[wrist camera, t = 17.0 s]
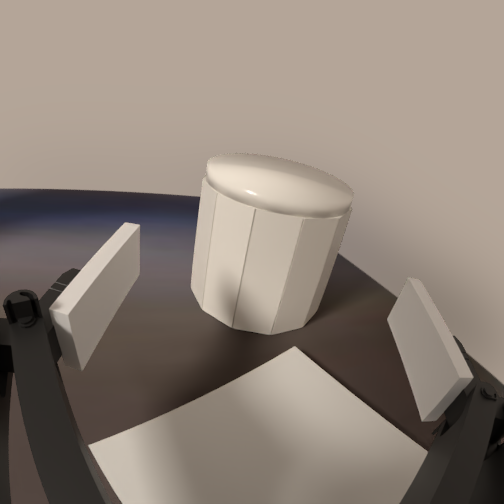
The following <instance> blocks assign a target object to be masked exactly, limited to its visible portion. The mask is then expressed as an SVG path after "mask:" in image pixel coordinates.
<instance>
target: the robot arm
mask: <svg viewBox="0 0 504 504" xmlns="http://www.w3.org/2000/svg"><path fill="white" fill-rule="evenodd" d="M139 274H140V225H137V224H132V223H127V222H125V223H124V224H123V225H122V226H121V227H120V228H119V229H118V230H117V231H116V233H115V234H114V235H113V236H112V237H111V238H110V239H109V240H108V241H107V242H106V243H105V244H104V245H103V246H102V248H101V249H100V250H99V251H98V252H97V253H96V254H95V255H94V256H93V257H92V259H91V260H90V261H89V262H88V263H87V264H86V265H85V266H84V268H83V269H82V270H78V269H74V268H72V269H71V270H69V271H67V272H65V273H63V274H62V275H61V276H60V277H59V279H58V280H57V281H56V283H54V284H53V285H52V286H51V289H49V290H48V291H47V292H46V293H45V294H44V295H43V297H42V298H41V299H40V300H38V297H37V295H36V294H35V293H34V292H33V291H30V290H18V291H15V292H13V293H11V294H10V295H8V296H7V297H6V299H5V300H4V303H3V307H4V310H5V313H6V316H7V319H6V318H0V504H11V496H10V483H9V460H8V435H9V411H10V397H11V386H12V377H13V373H15V379H16V385H17V391H18V396H19V401H20V406H21V411H22V416H23V420H24V424H25V429H26V433H27V436H28V440H29V444H30V448H31V451H32V455H33V458H34V461H35V464H36V468H37V471H38V474H39V477H40V480H41V482H42V485H43V488H44V491H45V493H46V496H47V499H48V501H49V504H112V502H111V500H110V498H109V497H108V495H107V493H106V491H105V489H104V487H103V485H102V482H101V480H100V478H99V476H98V474H97V472H96V470H95V467H94V465H93V463H92V461H91V458H90V456H89V454H88V451H87V449H86V447H85V444H84V442H83V439H82V437H81V434H80V431H79V429H78V426H77V423H76V421H75V418H74V415H73V412H72V409H71V406H70V403H69V400H68V397H67V394H66V391H65V388H64V384H63V381H62V377H61V374H60V370H59V367H58V364H57V362H58V360H59V358H60V357H61V355H62V357H63V361H64V364H65V365H66V366H69V367H72V368H74V369H77V370H80V371H83V369H84V367H85V365H86V364H87V362H88V360H89V358H90V356H91V355H92V353H93V351H94V349H95V347H96V346H97V344H98V342H99V340H100V339H101V337H102V335H103V333H104V332H105V330H106V328H107V327H108V325H109V323H110V322H111V320H112V318H113V317H114V315H115V313H116V312H117V310H118V308H119V307H120V305H121V303H122V302H123V300H124V298H125V297H126V295H127V294H128V292H129V290H130V289H131V287H132V286H133V284H134V282H135V281H136V279H137V278H138V276H139ZM387 321H388V323H389V326H390V328H391V331H392V334H393V336H394V339H395V342H396V345H397V347H398V350H399V353H400V356H401V359H402V361H403V364H404V367H405V370H406V373H407V376H408V379H409V382H410V385H411V388H412V391H413V394H414V397H415V401H416V404H417V407H418V410H419V414H420V417H421V420H422V422H423V421H436V420H437V419H438V418H439V417H440V416H441V415H442V414H443V413H445V416H446V419H445V420H444V421H443V422H442V423H441V424H440V425H439V426H438V427H437V428H436V429H435V430H434V431H433V433H432V434H433V435H434V434H435V433H436V432H438V433H437V435H436V437H435V439H434V441H433V443H432V445H431V447H430V450H429V452H428V454H427V456H426V457H425V459H424V461H423V463H422V465H421V467H420V469H419V471H418V473H417V474H416V476H415V478H414V480H413V482H412V483H411V485H410V487H409V488H408V490H407V492H406V493H405V495H404V497H403V498H402V500H401V502H400V503H399V504H504V443H503V444H501V439H502V438H503V437H504V398H502V397H498V394H497V392H496V390H495V389H494V387H492V386H491V385H490V384H488V383H486V382H481V381H480V379H479V377H478V375H477V373H476V371H475V369H474V367H473V365H472V363H471V361H470V360H469V357H468V355H467V354H466V351H465V349H464V347H463V345H462V344H461V343H460V341H459V340H458V339H457V338H456V337H455V336H452V334H451V333H450V330H449V328H448V327H447V325H446V323H445V321H444V320H443V318H442V316H441V314H440V312H439V311H438V309H437V307H436V305H435V304H434V302H433V300H432V299H431V297H430V295H429V294H428V292H427V290H426V289H425V287H424V286H423V284H422V282H421V280H420V279H415V278H410V277H408V278H407V280H406V282H405V284H404V286H403V289H402V291H401V293H400V295H399V297H398V299H397V301H396V303H395V305H394V307H393V309H392V311H391V313H390V315H389V317H388V319H387Z"/></svg>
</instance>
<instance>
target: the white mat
mask: <svg viewBox="0 0 504 504" xmlns="http://www.w3.org/2000/svg"><path fill="white" fill-rule="evenodd" d="M88 446H89V448H90V449H91V451H92V453H93V455H94V457H95V459H96V461H97V462H98V464H99V466H100V468H101V469H102V471H103V473H104V475H105V476H106V478H107V480H108V481H109V483H110V485H111V486H112V488H113V490H114V491H115V493H116V494H117V496H118V497H119V499H120V501H121V502H122V504H399V503H400V502H401V500H402V498H403V497H404V495H405V493H406V492H407V490H408V488H409V487H410V485H411V483H412V482H413V480H414V478H415V476H416V474H417V473H418V471H419V469H420V467H421V465H422V463H423V461H424V459H425V457H426V456H427V454H428V451H426V450H425V449H424V448H422V447H421V446H420V445H418V444H417V443H416V442H414V441H413V440H412V439H410V438H409V437H408V436H406V435H405V434H404V433H402V432H401V431H400V430H398V429H397V428H396V427H395V426H393V425H392V424H391V423H389V422H388V421H387V420H385V419H384V418H383V417H382V416H380V415H379V414H378V413H376V412H375V411H374V410H373V409H371V408H370V407H369V406H368V405H366V404H365V403H364V402H362V401H361V400H360V399H359V398H357V397H356V396H355V395H354V394H352V393H351V392H350V391H349V390H347V389H346V388H345V387H344V386H342V385H341V384H340V383H339V382H338V381H336V380H335V379H334V378H333V377H331V376H330V375H329V374H328V373H326V372H325V371H324V370H323V369H322V368H320V367H319V366H318V365H317V364H316V363H314V362H313V361H312V360H311V359H309V358H308V357H307V356H306V355H305V354H303V353H302V352H301V351H300V350H299V349H298V348H296V347H295V346H294V347H293V348H291V349H289V350H288V351H286V352H284V353H282V354H281V355H279V356H277V357H275V358H274V359H272V360H270V361H268V362H267V363H265V364H263V365H261V366H259V367H258V368H256V369H254V370H252V371H250V372H248V373H246V374H245V375H243V376H241V377H239V378H237V379H235V380H233V381H231V382H229V383H228V384H226V385H224V386H222V387H220V388H218V389H216V390H214V391H212V392H210V393H208V394H206V395H204V396H202V397H200V398H198V399H196V400H194V401H191V402H189V403H187V404H185V405H183V406H181V407H179V408H177V409H174V410H172V411H170V412H168V413H166V414H164V415H161V416H159V417H157V418H155V419H152V420H150V421H148V422H145V423H143V424H141V425H138V426H136V427H134V428H131V429H129V430H126V431H124V432H121V433H119V434H116V435H114V436H111V437H109V438H106V439H104V440H101V441H99V442H96V443H93V444H91V445H88Z"/></svg>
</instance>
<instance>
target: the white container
mask: <svg viewBox="0 0 504 504" xmlns="http://www.w3.org/2000/svg"><path fill="white" fill-rule="evenodd" d="M353 196H354V192H353V190H352V189H351V188H350V187H349V186H348V185H347V184H346V183H344V182H343V181H341V180H340V179H338V178H336V177H335V176H333V175H331V174H328V173H326V172H324V171H322V170H319V169H317V168H314V167H311V166H308V165H305V164H301V163H298V162H294V161H291V160H287V159H282V158H277V157H271V156H265V155H257V154H243V153H242V154H241V153H239V154H238V153H235V154H223V155H218V156H215V157H212V158H211V159H209V161H208V163H207V171H206V175H205V177H204V178H203V182H202V190H201V198H200V205H199V214H198V222H197V231H196V240H195V249H194V258H193V268H192V279H191V289H192V291H193V293H194V295H195V297H196V299H197V301H198V303H199V305H200V307H201V309H202V310H204V311H205V312H207V313H208V314H210V315H211V316H213V317H215V318H216V319H218V320H219V321H221V322H223V323H224V324H226V325H227V326H229V327H231V328H232V327H233V329H239V330H244V331H250V332H255V333H261V334H267V335H270V334H271V335H274V334H278V333H282V332H286V331H291V330H295V329H299V328H302V327H304V325H305V324H306V323H307V322H308V321H309V320H310V318H311V317H312V316H313V315H314V314H315V313H316V312H317V310H318V307H319V304H320V302H321V299H322V296H323V294H324V291H325V288H326V285H327V283H328V280H329V277H330V274H331V271H332V269H333V266H334V263H335V260H336V257H337V254H338V251H339V248H340V245H341V242H342V239H343V236H344V233H345V230H346V227H347V224H348V221H349V218H350V214H351V211H352V208H351V203H352V199H353Z"/></svg>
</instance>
